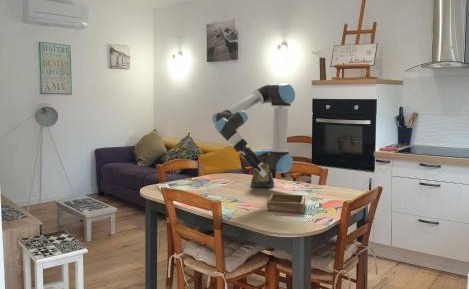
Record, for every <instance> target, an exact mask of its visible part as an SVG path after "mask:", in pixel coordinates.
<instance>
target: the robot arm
mask: <svg viewBox="0 0 469 289" xmlns="http://www.w3.org/2000/svg"><path fill="white" fill-rule="evenodd" d="M295 98H296V92H295V90H294V88H293V85H291V84H288V83H270V84H269V83H268V84H265V85H263V86H260V87H259V88H257V89H255V90H254V91H252V92H251V94H250V95H248V96H247V97H245V98H243V99H241V100H240V101H238V102H236V103H235V104H233V105H232V106H231V105H230V107H228V108H226V109H224V110H223V111H221V112H219V111H218V112H214V114H213V115H212V116H211V117H212V118H211V119H212V124H214V128H215V129H216V132H218V133H219V134H220V135H221V136H222V138H224V139H225V141H226V142H228V145H229V146H231V147H233V149H234V150H235V151H236V153H239V152H241V153H240V155H241V156H242V157H243V158H244V160H246V161H247V163H248V164H249V165H250V166H251V168H252V170H253V175H252V177H251V180H250V187H253V188H257V189H267V188H269V189H270V188H273V187H275V179H274V178H273V174H272V173H273V172H275V173H278V174H280V173H281V174H287V173H288V172H290V170H291V168H292V166H293V160H294V159H293V157H292V155H290V151H289V149H288V148H287V144H288V142H287V140H288V118H289V116H288V115H289V108H290V107H291V104H293V103H294V101H295ZM263 104H271V107H272V108H273V118H272V119H273V123H272V127H273V128H272V130H273V131H272V147H271V149H260V150H254V151H253V150H252V149H251V148H250V147H247V145H248V142H247V141H246V140H245V139H244V138H243V135H241V134H240V133H239V132H238V131H237V130H238V129H239V128H241V127H242V126H243V125H245V123H247V122H248V120H249V117H248V116H249V115H248V114H247V112H249V111H251V110H253V108H255V107H257V106H262V105H263ZM265 163H266V164H269V174H268V175H269V181H264V182H253V181H252V178H253V176H254V173H255V172H256V171H258V172H259V173H260V174H261V176H262V177H264V176H265V175H266V174H267V173H266V172H265V171H264V170H263V169H262V168H261V167H260V165H262V164H265Z"/></svg>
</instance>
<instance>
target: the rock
mask: <svg viewBox="0 0 469 289" xmlns="http://www.w3.org/2000/svg"><path fill="white" fill-rule="evenodd" d="M260 167H261V168H262V169H263V170H264V171H265V172H266V173H267V174H266V175H265V176H264V177H262V176H261V174H260V173H259V172H258V171H256V172H255V173H254V172H253V173H254V176H253V175H252V177H253V178H252V177H251V180H252V181H253V182H264V181H269V175H268V174H269V164H266V163H265V164H262V165H260Z"/></svg>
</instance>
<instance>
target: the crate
mask: <svg viewBox="0 0 469 289" xmlns="http://www.w3.org/2000/svg"><path fill="white" fill-rule="evenodd" d="M305 207H306V194H290V193H289V194H286V193H271V194H270V196H269V198H268V199H267V201H266V212H269V213H286V214H287V213H288V214H304V211H305Z"/></svg>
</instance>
